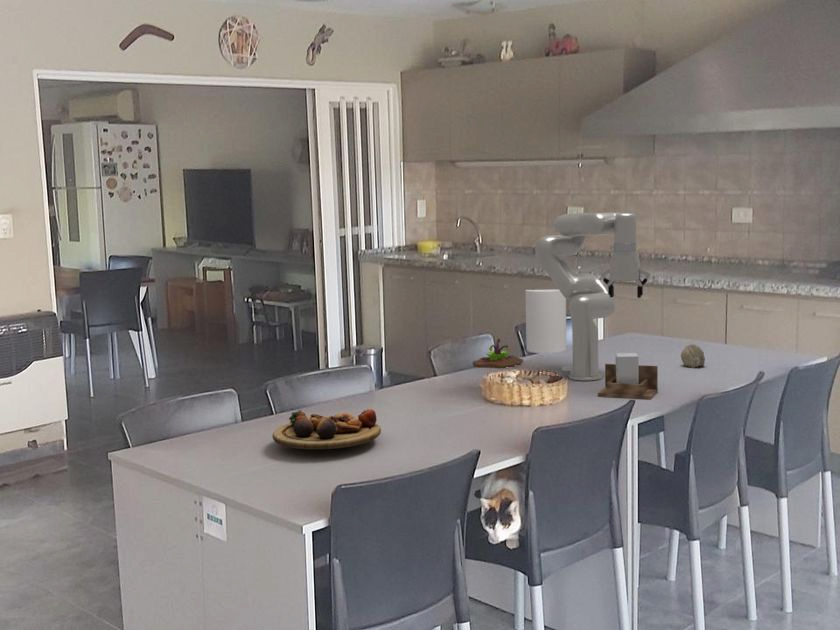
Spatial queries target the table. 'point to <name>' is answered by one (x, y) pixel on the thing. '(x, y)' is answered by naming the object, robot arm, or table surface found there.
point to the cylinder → (545, 321)
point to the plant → (497, 358)
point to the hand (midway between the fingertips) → (625, 297)
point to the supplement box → (627, 368)
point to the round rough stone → (693, 356)
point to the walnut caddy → (636, 391)
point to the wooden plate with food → (327, 430)
